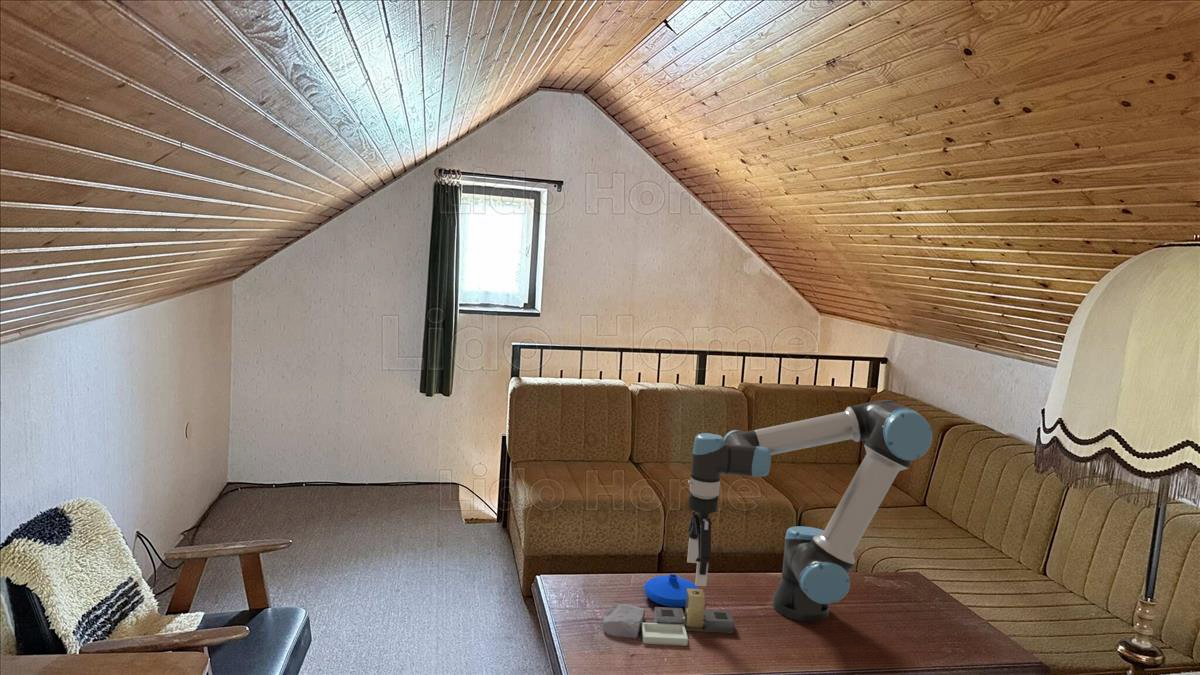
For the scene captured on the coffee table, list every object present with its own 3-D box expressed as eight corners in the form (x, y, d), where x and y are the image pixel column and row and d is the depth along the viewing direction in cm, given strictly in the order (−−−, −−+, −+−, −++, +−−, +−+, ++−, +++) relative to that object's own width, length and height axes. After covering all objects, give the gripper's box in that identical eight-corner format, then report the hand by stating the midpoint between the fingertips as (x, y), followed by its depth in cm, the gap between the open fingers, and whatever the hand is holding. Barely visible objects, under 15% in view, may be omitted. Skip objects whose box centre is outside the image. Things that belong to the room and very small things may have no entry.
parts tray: (683, 631, 186) (683, 624, 185) (687, 645, 179) (687, 638, 178) (640, 629, 185) (641, 622, 185) (643, 643, 178) (643, 636, 178)
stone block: (601, 641, 182) (640, 640, 180) (598, 622, 182) (637, 621, 180) (610, 620, 193) (647, 619, 191) (608, 603, 193) (645, 601, 191)
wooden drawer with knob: (699, 621, 191) (702, 589, 190) (702, 629, 187) (705, 596, 186) (683, 620, 191) (686, 588, 190) (686, 629, 187) (688, 595, 186)
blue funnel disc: (661, 581, 213) (663, 559, 213) (709, 599, 204) (711, 575, 203) (632, 600, 201) (634, 576, 200) (681, 620, 191) (683, 594, 191)
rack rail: (728, 621, 192) (729, 610, 192) (733, 633, 186) (734, 621, 186) (653, 617, 191) (654, 606, 191) (656, 629, 186) (657, 618, 185)
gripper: (682, 478, 197) (675, 552, 199) (697, 510, 172) (689, 595, 175) (709, 480, 197) (702, 554, 200) (728, 512, 173) (719, 596, 175)
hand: (696, 573), depth 187 cm, fingers open, 13 cm apart
